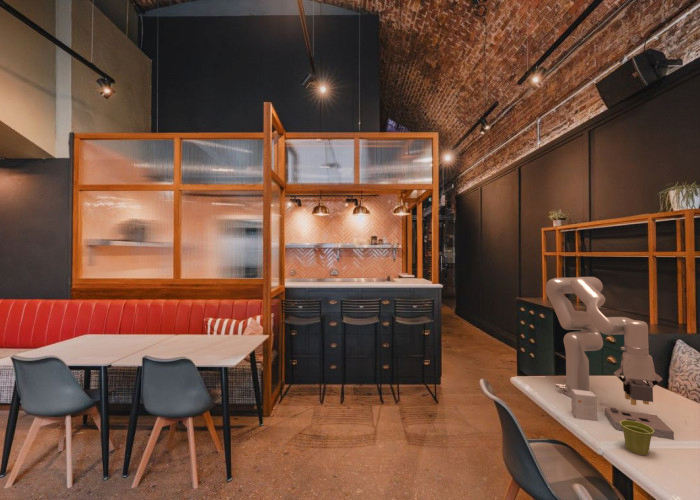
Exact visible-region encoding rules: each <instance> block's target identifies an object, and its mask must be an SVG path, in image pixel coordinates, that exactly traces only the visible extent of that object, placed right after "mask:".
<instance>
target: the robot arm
mask: <svg viewBox="0 0 700 500" xmlns="http://www.w3.org/2000/svg"><path fill="white" fill-rule="evenodd" d="M603 287H604V285H603V282H602V281H601V280H600V279H599V278H597V277H596V276H576V277H554V278H551V279H549V280H548V281H547V282H546V285H545V292H546V296H547V298H548V299H549V302H550V303H551V305H552V307H553V309H554V312H555V314H556V316H557V319H558V322H559V325H560V326H561V328H562V329H564V330H567V331H570V332H567V333H566V334H565V335H564V337H563V344H564V345H563V346H564V350H565V372H566V373H565V377H566V378H565V381H564V383H562V384H561V383H557V382H555V388H558V389H560V390H562V393H563V394H564V395H566V396H567V397H570V398H572V393H571V390H572V389H574V390H583V391H590V361H589V358H588V356H587V354H586V353H585V352H594V351H595V352H596V351H600V350H601V349H602V348H603V346H604V341H603V340H604V339H603V337H602V334H603V335H606V336H612V335H614V336H616V335H618V336H619V335H621V336H622V335H624V337H623V339H624V340H623V341H624V344H623V346H620V347H619V348H620V350H621V351H623V352H622V354H621V359H620V360H621V361H620V367H619V368H618V369H616V370H615V371H614V372H613V375H615V377H617V379H619V380H620V381H621V382H622V383H623V385H622V387H623V392H624V393H625V392H626V393H627V394H630V390H629V384H628V382H629V381H630V379H635V380H643V381H644V382H645V383H647V384H648V385H649V386H651V387H652V388H653V389H654V387H655V386H656V385H658V384H659V383H660V382H661V381H663V377H661V375H659V374H657V372H656V371H655V365H654V361H653V357H652V355H650V353H649V352H650V351H649V348H650V347H649V326H648V324H647V322H645V321H642V320H638V319H637V320H636V319H635V320H634V319H633V318H630V317H625V316H610V317H609V316H605V315H604V314H603V313H602V312H601V311H600V309H599V308H601V307H602V306H603V305H604V304H605V302H606V297H605V296H604V294H602V292H603V289H604V288H603ZM564 294H574V295H575V296H576V297H577V298H578V299H579V300H580V301H581V302H582V303H583V304H584V305H585V307H586V310H585V311H584V310H575V308H574V306H573V303H572V302H571V301H570V299H569V298H568V297H566V296H565V295H564ZM571 330H572V331H571ZM577 330H579V331H577ZM620 374H621V375H622V376H621V375H620Z"/></svg>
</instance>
